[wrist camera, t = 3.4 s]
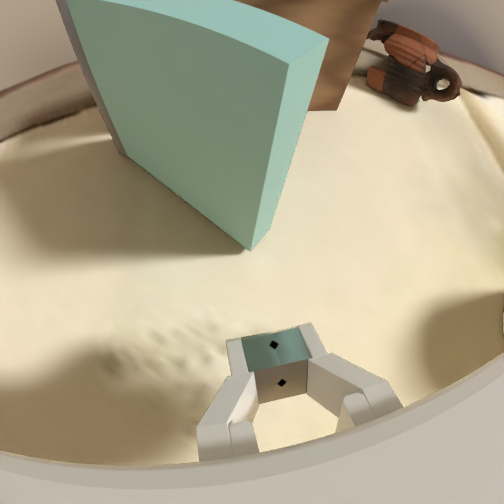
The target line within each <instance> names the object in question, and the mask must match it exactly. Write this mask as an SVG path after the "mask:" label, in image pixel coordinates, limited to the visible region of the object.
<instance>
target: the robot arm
mask: <svg viewBox="0 0 504 504" xmlns="http://www.w3.org/2000/svg"><path fill="white" fill-rule="evenodd" d="M226 348H227V354H228V359H229V365H230V371H231V376H227V378H226V379H225V381H224V383H223V384H222V386H221V388H220V389H219V391H218V393H217V394H216V396H215V398H214V399H213V401H212V403H211V404H210V406H209V408H208V409H207V411H206V413H205V414H204V416H203V417H202V419H201V421H200V422H199V424H198V426H197V427H196V429H197V441H198V452H199V462H193V463H181V464H166V465H99V464H84V463H73V462H64V461H56V460H48V459H42V458H36V457H30V456H25V455H20V454H15V453H10V452H6V451H2V450H0V504H504V352H503V353H502V354H500V355H499V356H497V357H496V358H494V359H493V360H491V361H490V362H488V363H486V364H485V365H483V366H482V367H480V368H478V369H477V370H475V371H473V372H472V373H470V374H468V375H467V376H465V377H463V378H461V379H460V380H458V381H456V382H454V383H452V384H450V385H449V386H447V387H445V388H443V389H441V390H439V391H437V392H435V393H433V394H431V395H429V396H427V397H425V398H423V399H421V400H419V401H417V402H415V403H412V404H410V405H408V406H406V407H403V406H402V404H401V402H400V401H399V399H398V398H397V396H396V394H395V393H394V391H393V389H392V388H391V386H390V385H389V383H388V381H387V380H385V379H383V378H380V377H378V376H376V375H374V374H372V373H370V372H368V371H366V370H364V369H363V368H361V367H359V366H357V365H355V364H353V363H351V362H349V361H347V360H345V359H343V358H341V357H339V356H337V355H335V354H333V353H330V354H328V352H327V350H326V349H325V347H324V345H323V343H322V341H321V339H320V337H319V335H318V333H317V331H316V330H315V328H314V326H313V324H312V323H307V324H303V325H299V326H297V327H296V326H295V327H291V328H286V329H282V330H277V331H273V332H269V333H263V334H258V335H252V336H246V337H241V339H240V338H236V339H229V340H226ZM305 393H307V395H309V396H310V397H311V398H313V399H314V400H315V401H316V402H318V403H319V404H320V405H322V406H323V407H325V408H326V409H327V410H329V411H330V412H331V413H333V414H334V415H335V416H337V417H338V418H339V420H338V424H337V428H336V432H335V433H334V434H331V435H328V436H325V437H321V438H318V439H314V440H311V441H307V442H304V443H300V444H296V445H292V446H288V447H284V448H279V449H275V450H270V451H266V452H261V453H259V449H258V445H257V441H256V437H255V433H254V429H253V425H252V422H253V419H254V417H255V415H256V412H257V410H258V407H259V404H261V403H266V402H270V401H274V400H278V399H282V398H287V397H291V396H296V395H300V394H305Z"/></svg>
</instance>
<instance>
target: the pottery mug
mask: <svg viewBox="0 0 504 504" xmlns="http://www.w3.org/2000/svg"><path fill="white" fill-rule="evenodd" d="M368 38H370V39H371V40H373V41H375V40H381V42H382V43H383V44H384V48H385V50H386V52H387V53H388V54H389V56H388V65H387V70H386V71H385V70H381V69H378V68H375V67H373V66H370V67H369V69H368V75H367V80H366V84H367V85H369V86H370V87H372V88H374V89H376V90H378V91H380V92H383V93H384V94H386V95H389V96H390V97H391V98H393V99H395V100H397V101H399V102H402V103H404V104H406V105H409V106H413V104H414V103H415V102H416V100H418V99H419V98H420V96H422V99H423V101H427V100H429V99H433V100H437V101H440V102H446V101H450V100H453V99H455V98H456V97H457V96H459V95H460V87H461V86H462V82H461V79H460V77H459V75H458V74H457V72H456V71H455V70H453V69H452V68H451V67H449V66H447V65H445V64H443V63H442V62H440V61H439V58H438V56H437V53H438V50H439V46H438V44H436V43H435V42H434V41H432V40H431V39H429V38H427V37H426V36H424V35H422V34H421V33H419V32H416V31H414V30H412V29H410V28H407V27H405V26H402V25H399V24H397V23H394V22H390V21H386V20H379V21H378V25H377V27H376V28H375V29H373V30H371V31H370V32H369V33H368V35H367V38H366V39H368ZM426 64H427V65H429V66H431V70H430V71H429V72H427V73H426V72H425V71H426ZM444 78H447V79H449V81H450V85H449V86H448V87H447V88H445V89H442V90H438V89H437V83H438V81H439V80H442V79H444Z"/></svg>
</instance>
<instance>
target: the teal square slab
mask: <svg viewBox="0 0 504 504" xmlns="http://www.w3.org/2000/svg"><path fill="white" fill-rule="evenodd" d="M56 2H57V5H58V8H59V11H60V14H61V17H62V20H63V22H64V25H65V28H66V31H67V33H68V36H69V38H70V41H71V44H72V46H73V49H74V52H75V54H76V56H77V59H78V62H79V64H80V67H81V69H82V71H83V74H84V76H85V79H86V81H87V83H88V86H89V88H90V90H91V93H92V95H93V97H94V99H95V102H96V104H97V106H98V108H99V111H100V113H101V115H102V117H103V119H104V122H105V124H106V126H107V128H108V130H109V132H110V134H111V137H112V139H113V141H114V143H115V145H116V147H117V149H118V151H119V153H120V154H122V155H124V156H128V157H130V158H131V159H132V160H133V161H135V162H136V163H137V164H139V165H140V166H141V167H142V168H144V169H145V170H146V171H147V172H149V173H150V174H151V175H153V176H154V177H155V178H156V179H158V180H159V181H160V182H162V183H163V184H164V185H165V186H167V187H168V188H169V189H171V190H172V191H173V192H174V193H176V194H177V195H178V196H180V197H181V198H182V199H183V200H185V201H186V202H187V203H189V204H190V205H191V206H192V207H194V208H195V209H196V210H197V211H199V212H200V213H201V214H203V215H204V216H205V217H206V218H208V219H209V220H210V221H212V222H213V223H214V224H215V225H217V226H218V227H219V228H221V229H222V230H223V231H224V232H226V233H227V234H228V235H230V236H231V237H232V238H233V239H235V240H236V241H237V242H239V243H240V244H241V245H242V246H244V247H245V248H246V249H248V250H249V251H251V250H252V249H253V248H254V247H255V246H256V244H257V243H258V242H259V241H260V240H261V238H262V237H263V236H264V235H265V234H266V233H267V231H268V230H269V229H270V226H271V223H272V220H273V217H274V214H275V211H276V208H277V204H278V201H279V198H280V195H281V192H282V189H283V186H284V183H285V179H286V176H287V173H288V170H289V167H290V164H291V161H292V157H293V154H294V151H295V148H296V145H297V142H298V138H299V135H300V132H301V129H302V126H303V123H304V119H305V116H306V113H307V110H308V107H309V103H310V100H311V97H312V94H313V91H314V87H315V84H316V81H317V78H318V74H319V71H320V68H321V65H322V61H323V58H324V55H325V52H326V48H327V45H328V42H329V38H327V37H325V36H323V35H321V34H319V33H316V32H314V31H312V30H310V29H308V28H306V27H303V26H301V25H299V24H297V23H294V22H292V21H289V20H287V19H285V18H282V17H280V16H277V15H275V14H272V13H269V12H267V11H264V10H261V9H258V8H255V7H252V6H250V5H247V4H243V3H240V2H237V1H234V0H56Z"/></svg>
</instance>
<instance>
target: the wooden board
mask: <svg viewBox="0 0 504 504" xmlns="http://www.w3.org/2000/svg"><path fill="white" fill-rule="evenodd" d="M234 1H237V2H240V3H243V4H247V5H250V6H252V7H255V8H258V9H261V10H264V11H267V12H269V13H272V14H275V15H277V16H280V17H282V18H285V19H287V20H289V21H292V22H294V23H297V24H299V25H301V26H303V27H306V28H308V29H310V30H312V31H314V32H316V33H319V34H321V35H323V36H325V37H327V38H329V42H328V45H327V48H326V52H325V55H324V58H323V61H322V65H321V68H320V71H319V74H318V78H317V81H316V84H315V87H314V91H313V94H312V97H311V100H310V103H309V107H308V110H307V111H315V110H337V108H338V106H339V104H340V101H341V99H342V96H343V94H344V92H345V89H346V87H347V84H348V82H349V79H350V77H351V75H352V72H353V70H354V67H355V65H356V62H357V60H358V57H359V55H360V53H361V50H362V48H363V45H364V43H365V40H366V38H367V35H368V33H369V30H370V27H371V25H372V23H373V20H374V17H375V15H376V12H377V10H378V7H379V4H380V2H381V1H382V2H386V3H387V2H388V0H234Z"/></svg>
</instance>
